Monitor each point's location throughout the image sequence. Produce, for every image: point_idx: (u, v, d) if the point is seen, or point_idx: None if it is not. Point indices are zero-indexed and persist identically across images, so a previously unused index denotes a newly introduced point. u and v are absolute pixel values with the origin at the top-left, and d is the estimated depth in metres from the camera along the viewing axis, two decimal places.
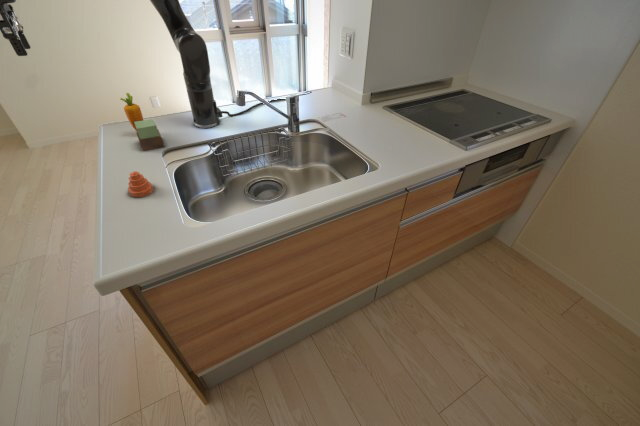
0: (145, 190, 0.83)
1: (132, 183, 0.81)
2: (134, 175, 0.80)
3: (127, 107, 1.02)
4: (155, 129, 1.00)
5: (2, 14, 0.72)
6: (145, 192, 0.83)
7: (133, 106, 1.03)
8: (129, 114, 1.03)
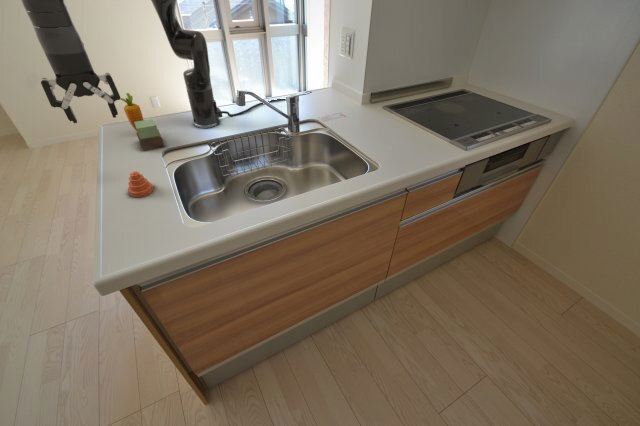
0: (145, 190, 0.83)
1: (132, 183, 0.81)
2: (134, 175, 0.80)
3: (127, 107, 1.02)
4: (155, 129, 1.00)
5: None
6: (145, 192, 0.83)
7: (133, 106, 1.03)
8: (129, 114, 1.03)
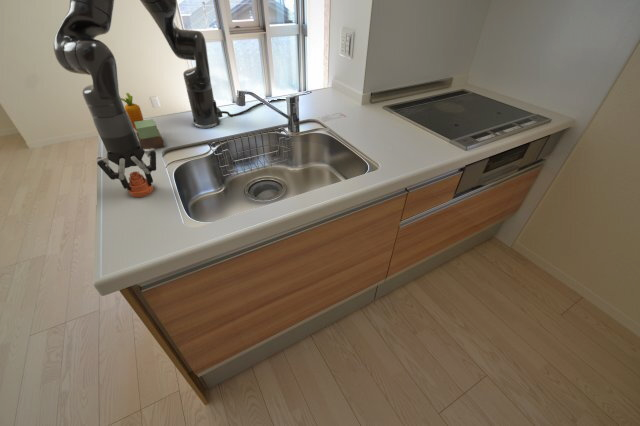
0: (145, 190, 0.83)
1: (132, 183, 0.81)
2: (134, 175, 0.80)
3: (127, 107, 1.02)
4: (155, 129, 1.00)
5: None
6: (145, 192, 0.83)
7: (133, 106, 1.03)
8: (129, 114, 1.03)
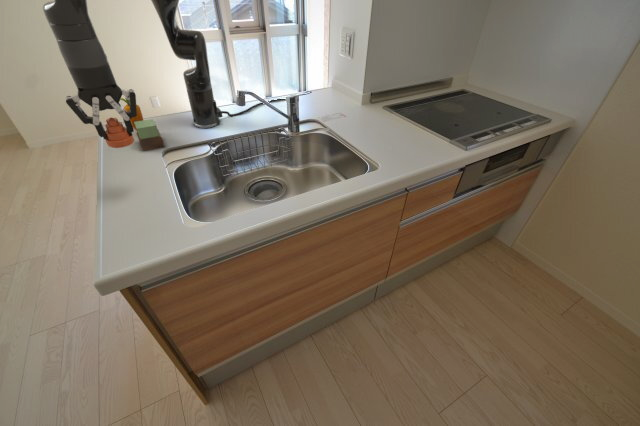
0: (124, 140, 0.73)
1: (109, 130, 0.71)
2: (111, 121, 0.70)
3: (127, 107, 1.02)
4: (155, 129, 1.00)
5: None
6: (125, 141, 0.73)
7: None
8: None
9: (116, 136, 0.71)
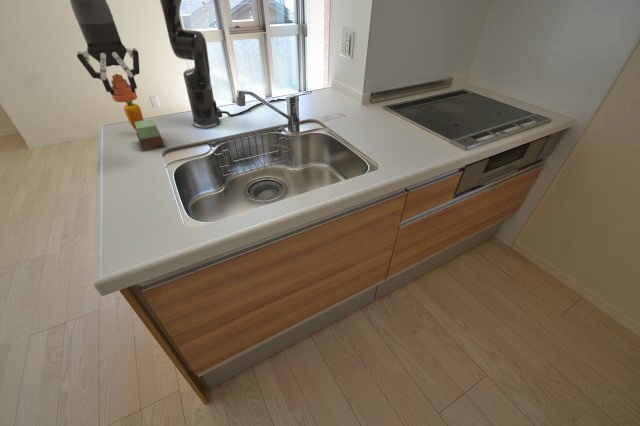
0: (129, 95, 0.81)
1: (115, 86, 0.79)
2: (116, 77, 0.78)
3: (127, 107, 1.02)
4: (155, 129, 1.00)
5: None
6: (129, 96, 0.81)
7: (133, 106, 1.03)
8: (129, 114, 1.03)
9: (121, 91, 0.79)
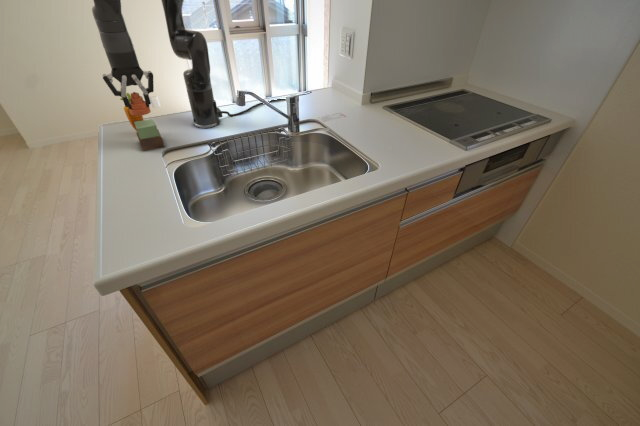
0: (144, 109, 0.95)
1: (132, 102, 0.94)
2: (134, 94, 0.93)
3: (127, 107, 1.02)
4: (155, 129, 1.00)
5: None
6: (144, 111, 0.95)
7: None
8: (129, 114, 1.03)
9: (138, 106, 0.94)
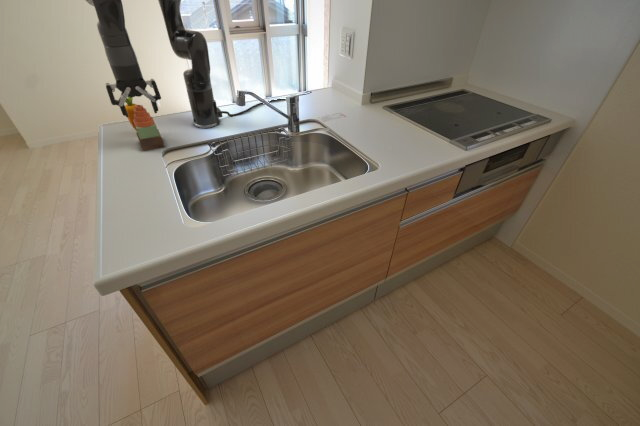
0: (148, 121, 0.98)
1: (137, 114, 0.96)
2: (138, 107, 0.95)
3: (127, 107, 1.02)
4: (155, 129, 1.00)
5: (106, 87, 0.88)
6: (148, 122, 0.98)
7: (133, 106, 1.03)
8: (129, 114, 1.03)
9: (142, 118, 0.97)
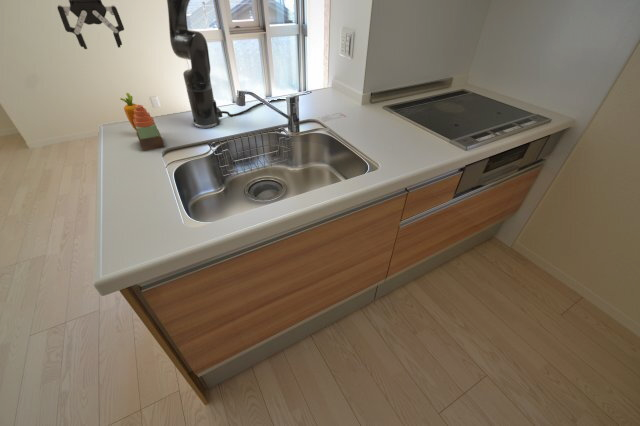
0: (148, 121, 0.98)
1: (137, 114, 0.96)
2: (138, 107, 0.95)
3: (127, 107, 1.02)
4: (155, 129, 1.00)
5: None
6: (148, 122, 0.98)
7: (133, 106, 1.03)
8: (129, 114, 1.03)
9: (142, 118, 0.97)
